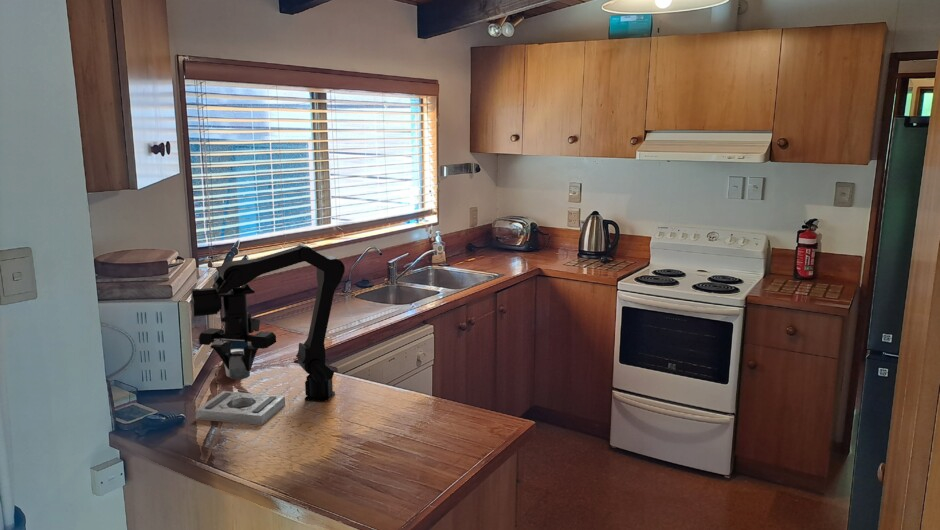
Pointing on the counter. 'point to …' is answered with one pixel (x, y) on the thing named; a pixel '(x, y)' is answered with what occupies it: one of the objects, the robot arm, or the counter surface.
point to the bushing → (237, 365)
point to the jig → (254, 413)
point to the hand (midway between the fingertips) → (239, 370)
